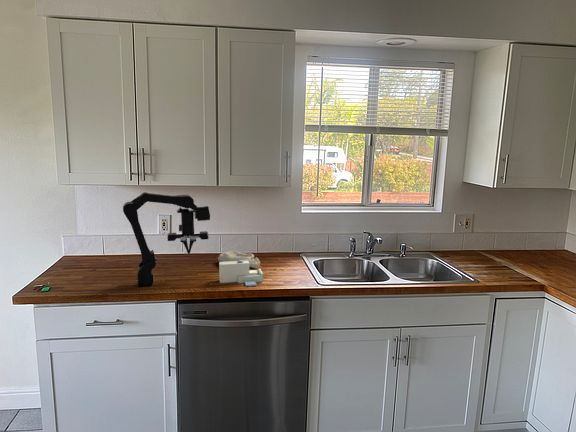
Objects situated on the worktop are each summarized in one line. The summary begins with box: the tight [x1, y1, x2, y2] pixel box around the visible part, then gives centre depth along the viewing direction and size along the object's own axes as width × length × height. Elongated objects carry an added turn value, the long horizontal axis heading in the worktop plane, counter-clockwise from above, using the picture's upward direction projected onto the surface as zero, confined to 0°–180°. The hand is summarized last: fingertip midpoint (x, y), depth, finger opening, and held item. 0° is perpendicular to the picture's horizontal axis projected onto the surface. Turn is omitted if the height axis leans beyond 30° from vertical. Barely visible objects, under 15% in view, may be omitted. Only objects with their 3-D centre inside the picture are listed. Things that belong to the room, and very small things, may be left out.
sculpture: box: [217, 250, 261, 269], centre depth 227 cm, size 24×11×15 cm
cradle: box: [237, 267, 264, 288], centre depth 205 cm, size 12×20×4 cm, turn 13°
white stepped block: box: [218, 260, 258, 284], centre depth 203 cm, size 18×4×10 cm, turn 103°
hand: (188, 253), depth 201 cm, fingers closed
